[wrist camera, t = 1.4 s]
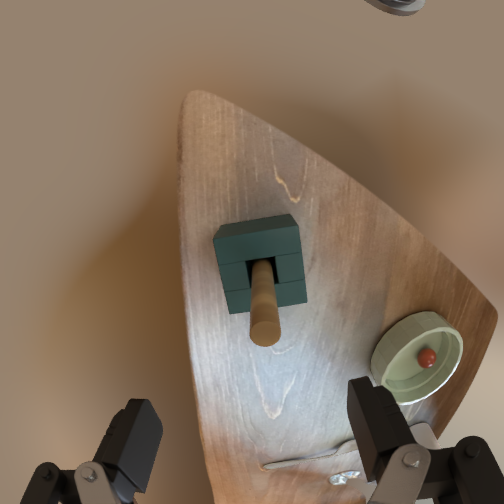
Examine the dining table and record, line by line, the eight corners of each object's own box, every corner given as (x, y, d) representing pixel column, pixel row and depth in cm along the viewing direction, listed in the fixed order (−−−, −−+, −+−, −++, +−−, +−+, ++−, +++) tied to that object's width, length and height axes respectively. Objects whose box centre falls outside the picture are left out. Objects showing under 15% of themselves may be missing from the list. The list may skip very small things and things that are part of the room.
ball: (415, 347, 34) (424, 359, 31) (432, 341, 34) (441, 352, 31) (412, 362, 35) (420, 375, 32) (429, 357, 35) (437, 368, 32)
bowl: (371, 322, 34) (385, 343, 29) (451, 300, 33) (470, 315, 28) (366, 392, 37) (376, 415, 33) (438, 369, 37) (451, 388, 32)
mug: (390, 431, 41) (405, 467, 32) (433, 413, 40) (452, 444, 31) (387, 458, 44) (398, 489, 35) (425, 443, 43) (439, 471, 35)
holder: (220, 225, 30) (212, 239, 25) (290, 213, 30) (298, 225, 24) (233, 289, 32) (229, 314, 27) (299, 278, 32) (307, 302, 26)
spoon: (370, 440, 41) (372, 446, 40) (267, 471, 44) (268, 477, 42) (367, 430, 40) (369, 437, 39) (259, 462, 43) (259, 469, 41)
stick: (251, 246, 31) (246, 323, 16) (268, 243, 31) (279, 318, 16) (254, 262, 32) (252, 348, 16) (270, 259, 31) (282, 344, 16)
